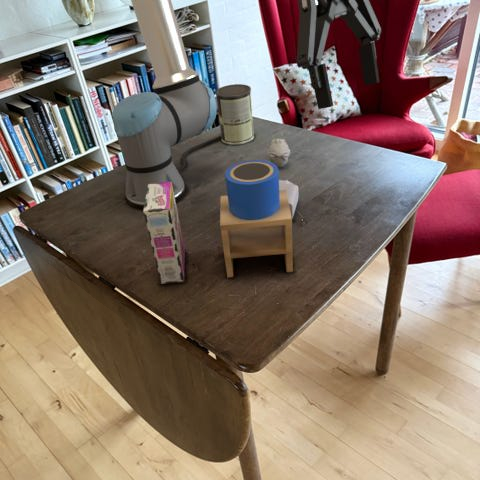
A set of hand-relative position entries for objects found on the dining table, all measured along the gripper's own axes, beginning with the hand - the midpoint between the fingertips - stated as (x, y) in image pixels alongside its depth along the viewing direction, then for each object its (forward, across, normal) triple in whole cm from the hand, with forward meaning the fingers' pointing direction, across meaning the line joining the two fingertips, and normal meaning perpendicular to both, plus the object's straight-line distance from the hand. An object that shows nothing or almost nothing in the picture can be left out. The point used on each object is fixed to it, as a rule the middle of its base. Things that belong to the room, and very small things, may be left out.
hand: (349, 95), depth 81 cm
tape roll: (+13, -19, +11) cm, 25 cm away
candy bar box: (+21, -32, +26) cm, 46 cm away
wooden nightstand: (+24, -19, +15) cm, 34 cm away
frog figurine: (+17, +16, +39) cm, 46 cm away
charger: (+21, 0, +26) cm, 34 cm away
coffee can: (+10, +23, +62) cm, 67 cm away
